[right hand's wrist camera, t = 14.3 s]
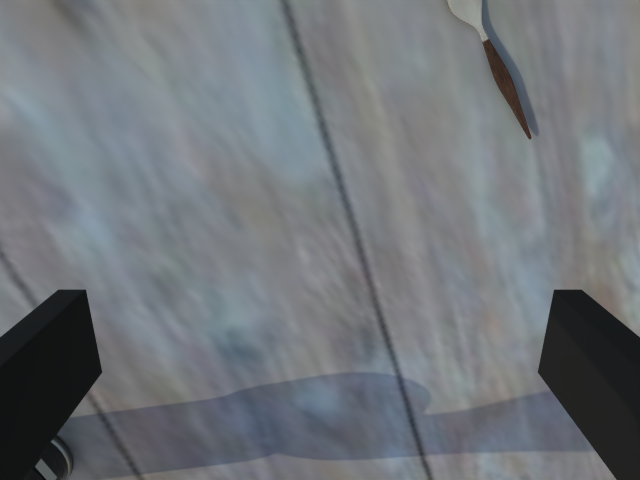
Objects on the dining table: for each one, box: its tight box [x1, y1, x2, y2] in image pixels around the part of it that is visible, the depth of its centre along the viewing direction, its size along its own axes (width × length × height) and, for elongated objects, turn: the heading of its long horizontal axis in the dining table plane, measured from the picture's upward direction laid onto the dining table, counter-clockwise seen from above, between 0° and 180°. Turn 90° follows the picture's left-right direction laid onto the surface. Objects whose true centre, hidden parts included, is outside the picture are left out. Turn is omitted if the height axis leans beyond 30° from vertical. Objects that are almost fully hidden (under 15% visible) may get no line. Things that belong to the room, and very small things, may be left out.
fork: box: [448, 0, 531, 139], centre depth 36 cm, size 3×16×2 cm, turn 32°
